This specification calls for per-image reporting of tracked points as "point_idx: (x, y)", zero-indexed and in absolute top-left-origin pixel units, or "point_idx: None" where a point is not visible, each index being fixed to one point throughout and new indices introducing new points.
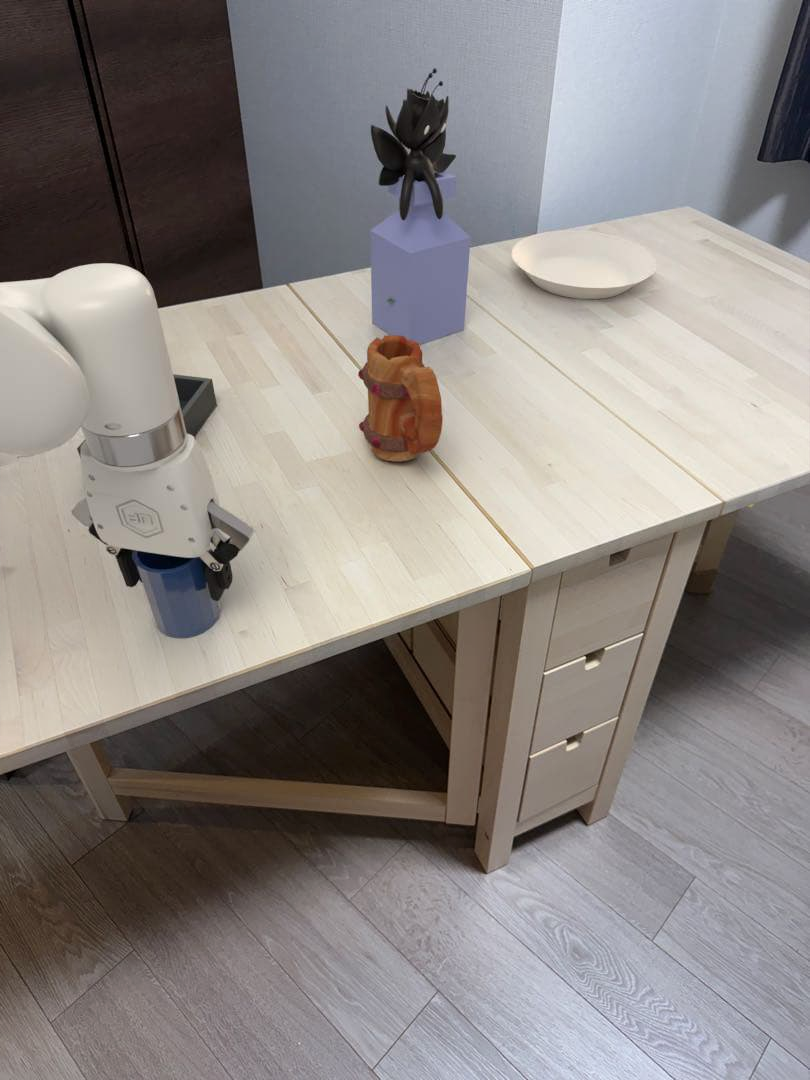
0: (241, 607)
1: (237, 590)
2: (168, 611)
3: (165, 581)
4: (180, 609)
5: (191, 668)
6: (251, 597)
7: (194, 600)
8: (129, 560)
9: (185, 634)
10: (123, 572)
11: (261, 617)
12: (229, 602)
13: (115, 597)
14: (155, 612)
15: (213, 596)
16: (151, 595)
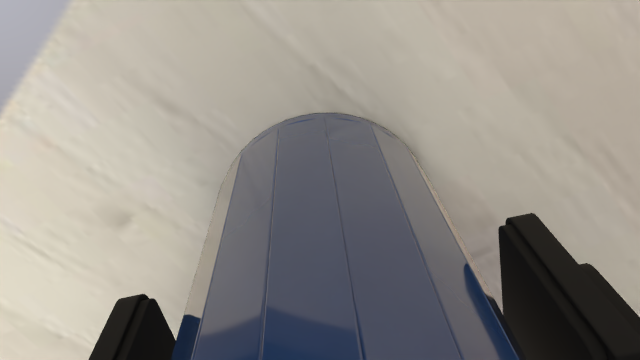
0: None
1: None
2: (289, 179)
3: (250, 324)
4: (244, 206)
5: (158, 31)
6: None
7: (202, 265)
8: (568, 347)
9: (260, 138)
10: (570, 270)
11: (115, 281)
12: None
13: (581, 170)
14: (362, 158)
15: (122, 313)
16: (365, 213)
